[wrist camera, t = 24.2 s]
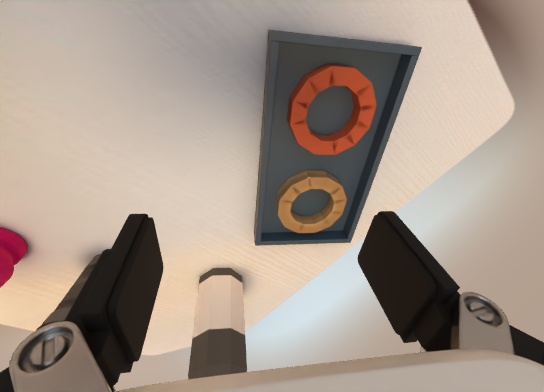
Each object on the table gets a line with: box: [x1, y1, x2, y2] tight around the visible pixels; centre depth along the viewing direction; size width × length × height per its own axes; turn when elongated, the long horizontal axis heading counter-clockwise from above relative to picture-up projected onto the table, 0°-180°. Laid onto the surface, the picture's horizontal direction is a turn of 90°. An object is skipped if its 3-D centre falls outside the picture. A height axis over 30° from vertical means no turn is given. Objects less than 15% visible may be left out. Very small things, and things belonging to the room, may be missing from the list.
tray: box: [254, 30, 422, 245], centre depth 33 cm, size 28×16×3 cm, turn 175°
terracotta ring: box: [287, 64, 376, 155], centre depth 29 cm, size 10×10×2 cm
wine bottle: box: [188, 269, 247, 379], centre depth 34 cm, size 8×8×30 cm
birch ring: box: [276, 170, 347, 233], centre depth 37 cm, size 10×10×2 cm
